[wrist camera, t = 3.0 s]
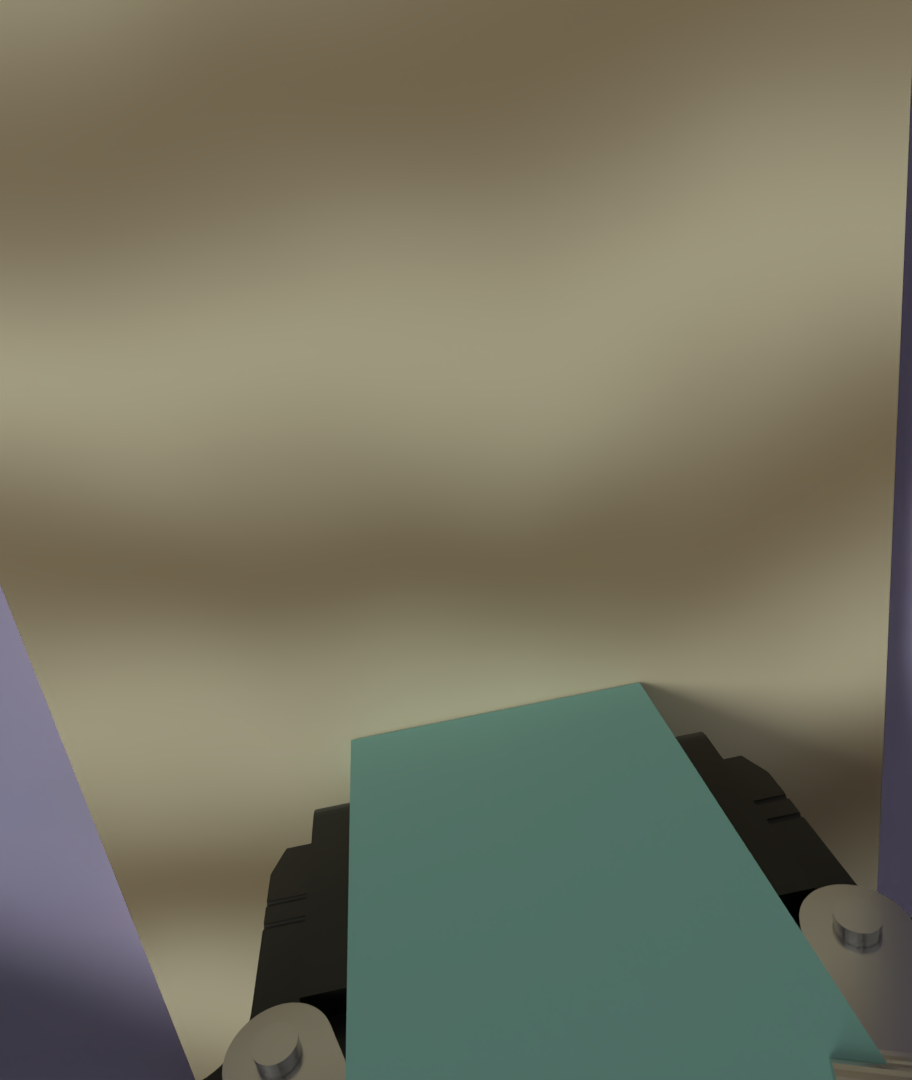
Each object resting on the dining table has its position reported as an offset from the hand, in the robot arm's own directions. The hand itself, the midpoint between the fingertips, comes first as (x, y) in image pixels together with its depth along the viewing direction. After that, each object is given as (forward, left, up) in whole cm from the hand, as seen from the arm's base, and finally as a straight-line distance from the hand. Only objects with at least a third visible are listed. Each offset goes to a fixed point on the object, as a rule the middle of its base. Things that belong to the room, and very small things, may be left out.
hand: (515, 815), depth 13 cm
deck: (+5, 0, -2) cm, 6 cm away
